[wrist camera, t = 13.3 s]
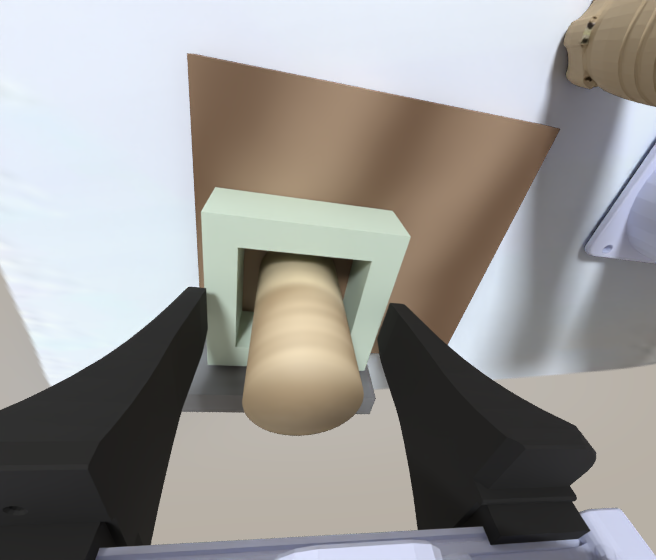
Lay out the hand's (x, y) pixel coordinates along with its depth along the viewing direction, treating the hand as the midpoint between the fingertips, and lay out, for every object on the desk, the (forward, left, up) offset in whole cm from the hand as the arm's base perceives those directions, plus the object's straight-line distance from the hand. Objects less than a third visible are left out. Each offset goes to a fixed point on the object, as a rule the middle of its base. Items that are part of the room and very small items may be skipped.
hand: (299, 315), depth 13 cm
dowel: (0, 0, -3) cm, 3 cm away
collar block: (0, 0, -3) cm, 3 cm away
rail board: (-2, -1, -4) cm, 5 cm away
